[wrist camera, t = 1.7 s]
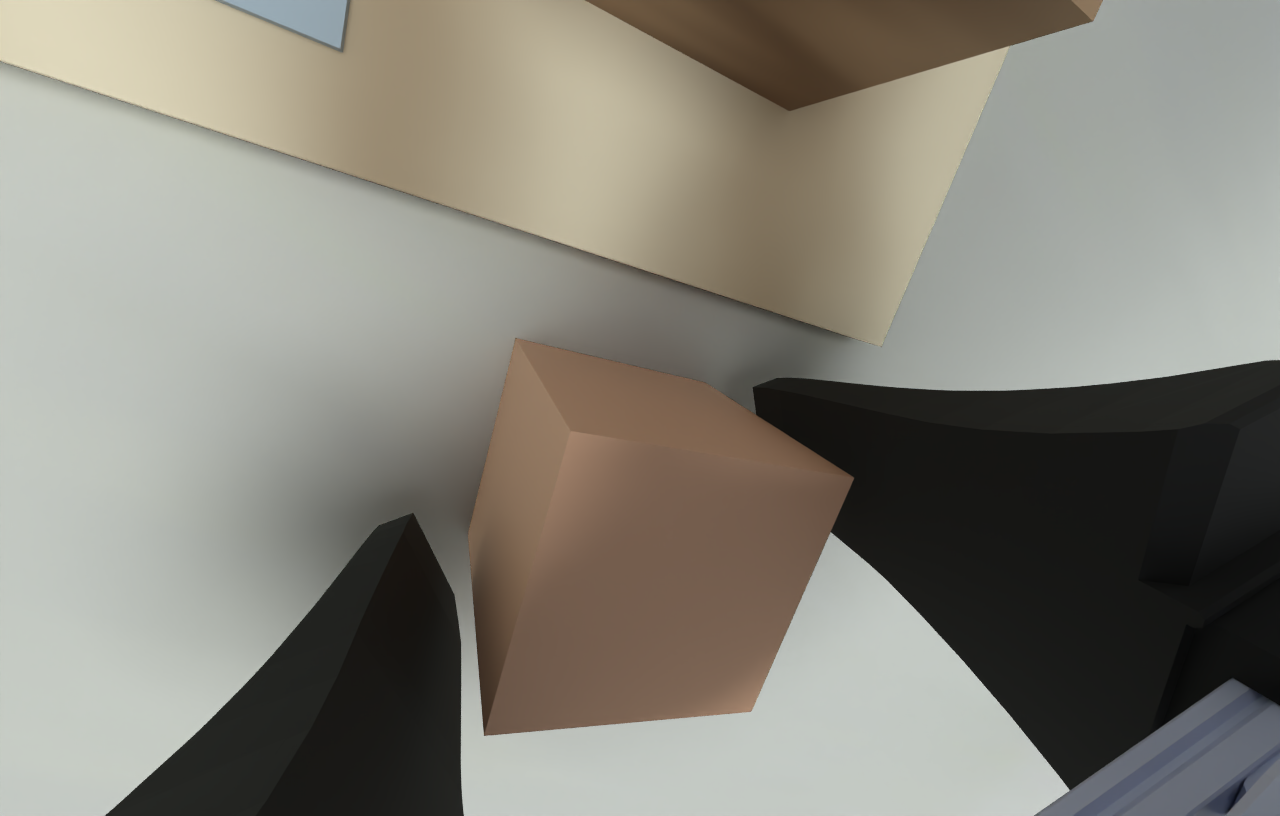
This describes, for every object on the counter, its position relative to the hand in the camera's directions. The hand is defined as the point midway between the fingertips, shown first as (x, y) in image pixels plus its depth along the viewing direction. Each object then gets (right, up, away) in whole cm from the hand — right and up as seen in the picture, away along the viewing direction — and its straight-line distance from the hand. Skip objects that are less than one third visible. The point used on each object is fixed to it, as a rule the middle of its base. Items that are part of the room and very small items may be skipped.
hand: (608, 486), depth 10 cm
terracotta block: (-1, +1, +1) cm, 2 cm away
